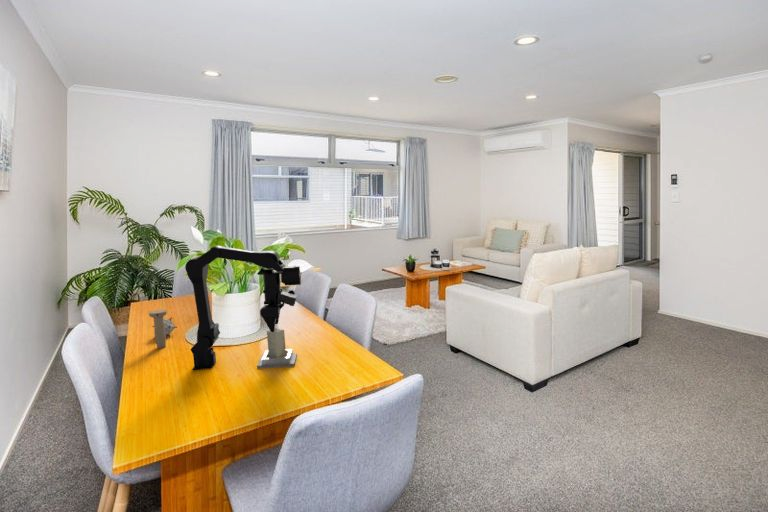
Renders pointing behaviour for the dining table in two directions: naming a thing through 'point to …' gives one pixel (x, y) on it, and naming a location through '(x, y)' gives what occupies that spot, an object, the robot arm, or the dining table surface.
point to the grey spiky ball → (168, 326)
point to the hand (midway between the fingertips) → (274, 327)
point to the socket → (277, 360)
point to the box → (276, 343)
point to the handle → (159, 327)
